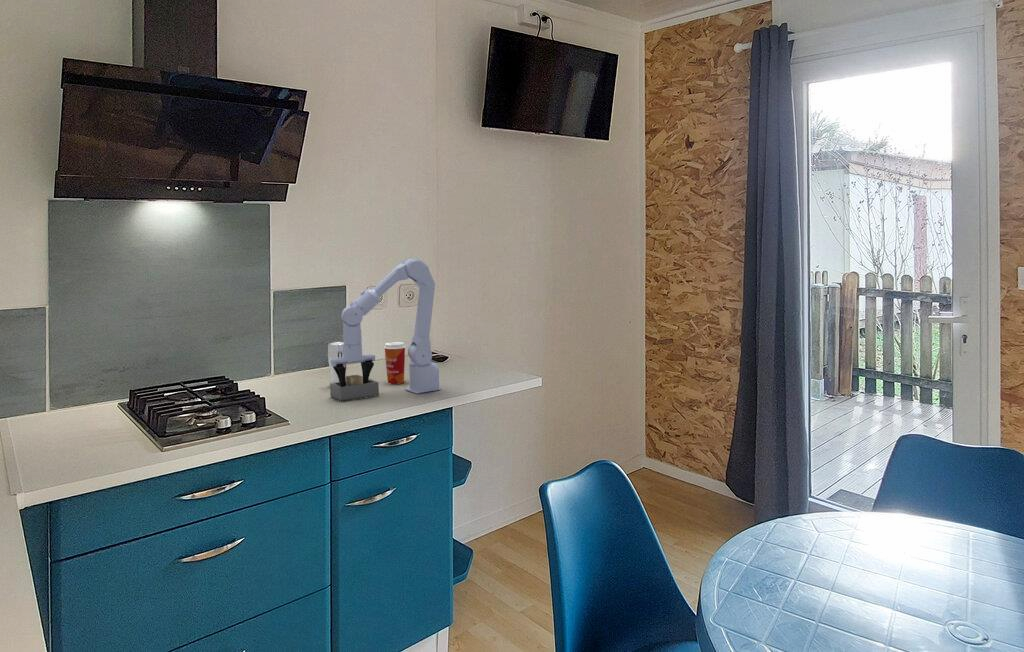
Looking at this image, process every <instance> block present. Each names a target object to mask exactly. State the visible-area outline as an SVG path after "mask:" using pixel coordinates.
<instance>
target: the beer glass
mask: <svg viewBox="0 0 1024 652" xmlns="http://www.w3.org/2000/svg"><path fill="white" fill-rule="evenodd" d="M342 357H344V343H343V341H334V342H328V343H327V358H328V360H327V361H328V366H329V370H330V373H331V378H330V380H331V381H330V383H334V382H340V381H339V378H338V375H337V373H336V371H335V370H334V368H333V366H331V359H337V358H342ZM343 366H344V367H346V373H345V381H346V376H348V368H349V364H345V365H343Z"/></svg>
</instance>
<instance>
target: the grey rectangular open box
mask: <svg viewBox="0 0 1024 652" xmlns="http://www.w3.org/2000/svg"><path fill="white" fill-rule="evenodd" d="M345 383H346V381H345ZM379 386H380V385H379V381H376V380H374V379H371V378H369V379H368V383H365V384H364V383H363V384H358V385H351V386H344V387H341V385H340V382H334V383H331V382H330V383H329V390H330V391H329V392H330V393H329V394H330V395H329V396H331V397H330V398H332V397H333V398H332V399H334V398H335V399H334V400H336V399H337V400H336V401H338V400H339V401H338V402H340V401H341V402H340V403H342V401H343V402H348V400H349V401H354V400H353V399H356V400H361V399H360V398H362V399H366V398H365V397H368V398H372V397H371V396H374V397H376V396H375V395H379V396H380V389H379V388H380V387H379Z"/></svg>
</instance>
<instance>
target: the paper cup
mask: <svg viewBox="0 0 1024 652" xmlns="http://www.w3.org/2000/svg"><path fill="white" fill-rule="evenodd" d="M383 349H384V356H385V357H384V358H385V368H386V377H387V384H389V383H392V384H391V385H399V384H398V383H401V384H404V383H405V359H406V358H405V357H406V355H405V354H406V344H405V342H401V341H392V342H386V343H384V346H383ZM403 382H404V383H403Z"/></svg>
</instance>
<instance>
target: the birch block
mask: <svg viewBox="0 0 1024 652" xmlns="http://www.w3.org/2000/svg"><path fill="white" fill-rule="evenodd" d="M358 384H363V375H359V374H351V375H347V376H346V386H351V385H358Z"/></svg>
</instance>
